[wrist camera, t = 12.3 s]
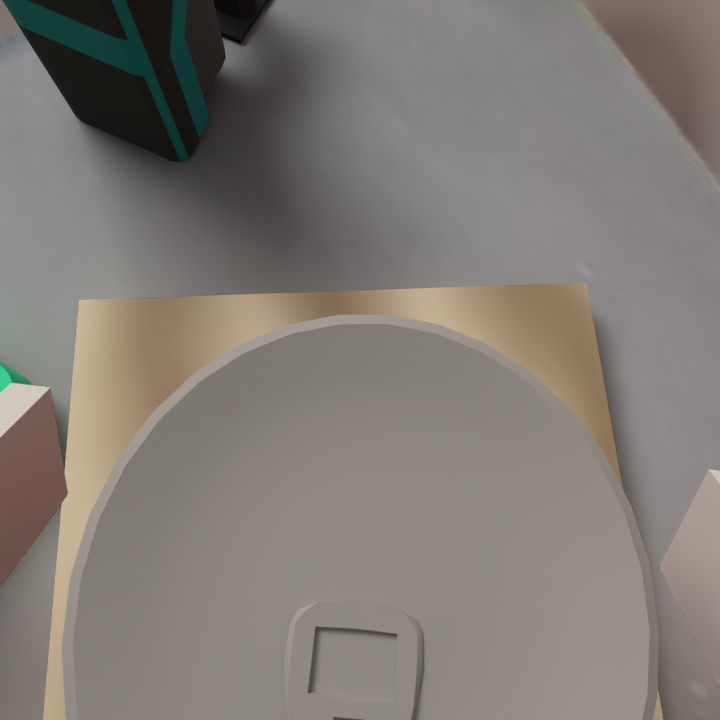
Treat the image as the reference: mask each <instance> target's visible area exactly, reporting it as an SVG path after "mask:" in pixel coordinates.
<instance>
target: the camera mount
mask: <svg viewBox="0 0 720 720" xmlns="http://www.w3.org/2000/svg"><path fill="white" fill-rule="evenodd" d="M11 383H17V384H25V385H32V384H31V383H30V382H29V381H28V380H27V379H26V378H24V377H23V376H21V375H20V374H18V373H17V372H15V371H14V370H12V369H11V368H9V367H8V366H6V365H5V364H3V363H2V362H0V393H1V392H2V391H3V390H4V389H5V388H6V387H7V386H9V385H10V384H11Z"/></svg>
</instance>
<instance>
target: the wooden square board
mask: <svg viewBox="0 0 720 720" xmlns="http://www.w3.org/2000/svg"><path fill="white" fill-rule="evenodd" d="M335 315H393V316H398V317H403V318H408V319H414V320H419V321H424V322H429V323H435V324H439V325H441V326H444V327H446V328H449V329H451V330H454V331H456V332H459V333H461V334H464V335H466V336H469V337H471V338H474V339H476V340H479V341H481V342H484V343H486V344H488V345H489V346H491V347H493V348H494V349H496V350H497V351H499V352H500V353H502V354H504V355H505V356H507V357H508V358H510V359H511V360H513V361H515V362H516V363H518V364H519V365H521V366H522V367H524V368H526V369H527V370H529V371H530V372H531V373H532V374H534V375H535V376H536V377H537V378H538V379H539V380H540V381H541V382H542V383H543V384H544V385H545V386H546V387H548V388H549V389H550V390H551V391H552V392H553V393H554V394H555V395H556V396H557V397H558V398H559V399H560V400H562V401H563V402H564V403H565V404H566V405H567V406H568V407H569V408H570V409H571V410H572V412H573V413H574V414H575V416H576V417H577V418H578V420H579V421H580V422H581V423H582V425H583V426H584V427H585V429H586V430H587V431H588V433H589V434H590V435H591V437H592V438H593V439H594V441H595V442H596V443H597V445H598V446H599V447H600V449H601V450H602V451H603V453H604V454H605V456H606V458H607V460H608V462H609V464H610V466H611V468H612V469H613V471H614V473H615V475H616V477H617V479H618V481H619V483H620V485H621V487H622V481H621V475H620V470H619V464H618V458H617V453H616V447H615V441H614V436H613V430H612V424H611V418H610V413H609V407H608V401H607V396H606V390H605V384H604V379H603V373H602V367H601V362H600V356H599V350H598V345H597V339H596V333H595V328H594V322H593V316H592V310H591V305H590V299H589V293H588V288H587V283H564V284H535V285H506V286H476V287H447V288H417V289H388V290H359V291H329V292H300V293H270V294H241V295H212V296H182V297H153V298H124V299H94V300H79V310H78V321H77V333H76V344H75V356H74V368H73V379H72V391H71V402H70V414H69V425H68V437H67V449H66V460H65V479H66V485H67V491H68V495H67V496H66V498H65V499H64V501H63V502H62V506H61V518H60V530H59V541H58V553H57V564H56V576H55V587H54V599H53V611H52V622H51V634H50V645H49V657H48V668H47V680H46V692H45V703H44V715H43V720H67V719H66V715H65V698H64V679H63V660H62V638H63V630H64V622H65V614H66V606H67V598H68V590H69V582H70V576H71V573H72V570H73V566H74V563H75V560H76V557H77V553H78V550H79V547H80V543H81V540H82V537H83V534H84V530H85V527H86V524H87V521H88V517H89V515H90V513H91V511H92V509H93V507H94V505H95V503H96V501H97V499H98V497H99V495H100V493H101V491H102V489H103V487H104V485H105V483H106V481H107V479H108V477H109V475H110V473H111V471H112V469H113V467H114V465H115V463H116V461H117V459H118V458H119V457H120V455H121V454H122V453H123V451H124V450H125V449H126V447H127V446H128V445H129V443H130V442H131V441H132V439H133V438H134V437H135V435H136V434H137V433H138V431H139V430H140V429H141V427H142V426H143V425H144V423H145V422H146V421H147V419H148V418H149V417H150V415H151V414H152V413H153V412H154V411H155V410H156V409H157V408H158V407H159V406H160V405H161V404H162V403H163V402H164V401H165V400H166V399H167V398H169V397H170V396H171V395H172V394H173V393H174V392H175V391H176V390H177V389H178V388H179V387H180V386H181V385H182V384H183V383H185V382H186V381H187V380H188V379H189V378H190V377H191V376H192V375H193V374H194V373H196V372H197V371H199V370H201V369H202V368H204V367H205V366H207V365H208V364H210V363H211V362H213V361H214V360H216V359H218V358H219V357H221V356H222V355H224V354H225V353H227V352H228V351H230V350H232V349H233V348H235V347H236V346H238V345H239V344H242V343H244V342H247V341H249V340H252V339H254V338H257V337H259V336H261V335H264V334H266V333H269V332H271V331H274V330H276V329H279V328H281V327H284V326H286V325H289V324H294V323H299V322H304V321H309V320H314V319H320V318H325V317H330V316H335ZM622 489H623V487H622ZM653 720H663V714H662V708H661V703H660V697H659V691H658V692H657V701H656V706H655V711H654V716H653Z"/></svg>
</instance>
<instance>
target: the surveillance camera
mask: <svg viewBox="0 0 720 720" xmlns="http://www.w3.org/2000/svg"><path fill="white" fill-rule="evenodd" d="M3 2H4V3H5V5H6V7H7V8H8V10H9V11H10V13H11V15H12V16H13V18H14V19H15V21H16V22H17V24H18V26H19V27H20V29H21V30H22V32H23V34H24V35H25V37H26V38H27V40H28V41H29V43H30V45H31V46H32V48H33V49H34V51H35V52H36V54H37V56H38V57H39V59H40V60H41V62H42V64H43V65H44V67H45V68H46V70H47V71H48V73H49V75H50V76H51V78H52V79H53V81H54V82H55V84H56V86H57V87H58V89H59V90H60V92H61V94H62V95H63V97H64V98H65V100H66V101H67V103H68V105H69V106H70V108H71V109H72V111H73V112H74V114H75V116H76V117H78V118H79V119H80V120H81V121H83V122H85V123H87V124H90V125H92V126H94V127H96V128H99V129H101V130H103V131H105V132H108V133H110V134H112V135H114V136H117V137H119V138H121V139H124V140H126V141H128V142H130V143H133V144H135V145H137V146H139V147H142V148H144V149H146V150H148V151H151V152H153V153H155V154H158V155H160V156H162V157H164V158H167V159H169V160H171V161H177V162H181V161H184V160H186V159H188V158H189V157H190V156H191V155H192V153H193V152H194V151H195V149H196V146H197V144H198V142H199V139H200V137H201V135H202V132H203V130H204V128H205V126H206V123H207V121H208V119H209V113H208V110H207V107H206V103H205V100H204V97H203V95H204V93H205V92H206V90H207V89H208V87H209V86H210V84H211V83H212V81H213V80H214V78H215V77H216V75H217V74H218V72H219V71H220V69H221V68H222V66H223V63H224V60H225V58H226V57H225V48H224V44H223V40H222V36H223V37H225V38H228V39H230V40H233V41H235V42H237V43H240V44H241V42H242V41H243V39H244V38H245V36H246V35H247V33H248V32H249V30H250V29H251V27H252V26H253V24H254V23H255V21H256V20H257V18H258V17H259V15H260V14H261V12H262V11H263V9H264V8H265V6H266V5H267V3H268V2H269V0H3Z"/></svg>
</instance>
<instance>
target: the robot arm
mask: <svg viewBox="0 0 720 720" xmlns="http://www.w3.org/2000/svg"><path fill="white" fill-rule="evenodd" d="M67 495H68V491H67V485H66V479H65V472H64V466H63V460H62V454H61V448H60V442H59V436H58V430H57V424H56V418H55V412H54V406H53V400H52V394H51V388H50V387H42V386H34V385H25V384H17V383H11V384H10V385H9V386H7V387H6V388H5V389H4V390H3V391H2V392H1V393H0V587H1V586H2V584H3V583H4V582H5V580H6V579H7V578H8V576H9V575H10V573H11V572H12V571H13V569H14V568H15V567H16V565H17V564H18V562H19V561H20V560H21V558H22V557H23V556H24V554H25V553H26V551H27V550H28V549H29V547H30V546H31V545H32V543H33V542H34V540H35V539H36V538H37V536H38V535H39V534H40V532H41V531H42V529H43V528H44V527H45V525H46V524H47V523H48V521H49V520H50V518H51V517H52V516H53V514H54V513H55V512H56V510H57V509H58V507H59V506H60V505H61V503H62V502H63V501H64V499H65V498H66V496H67ZM659 568H660V570H661V571H662V573H663V575H664V577H665V579H666V581H667V583H668V585H669V587H670V589H671V591H672V593H673V595H674V597H675V599H676V601H677V603H678V605H679V607H680V609H681V611H682V613H683V615H684V617H685V619H686V621H687V623H688V625H689V627H690V629H691V631H692V633H693V635H694V637H695V639H696V641H697V643H698V644H699V646H700V648H701V650H702V652H703V654H704V656H705V658H706V660H707V662H708V664H709V666H710V668H711V670H712V672H713V674H714V676H715V678H716V680H717V682H718V684H719V686H720V471H718V470H710V469H709V470H708V472H707V474H706V476H705V478H704V480H703V482H702V484H701V486H700V488H699V490H698V492H697V494H696V496H695V497H694V499H693V501H692V503H691V505H690V507H689V509H688V511H687V513H686V515H685V517H684V519H683V521H682V523H681V525H680V527H679V529H678V531H677V533H676V535H675V537H674V539H673V541H672V543H671V545H670V547H669V548H668V550H667V552H666V554H665V556H664V558H663V560H662V562H661V564H660V566H659Z"/></svg>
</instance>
